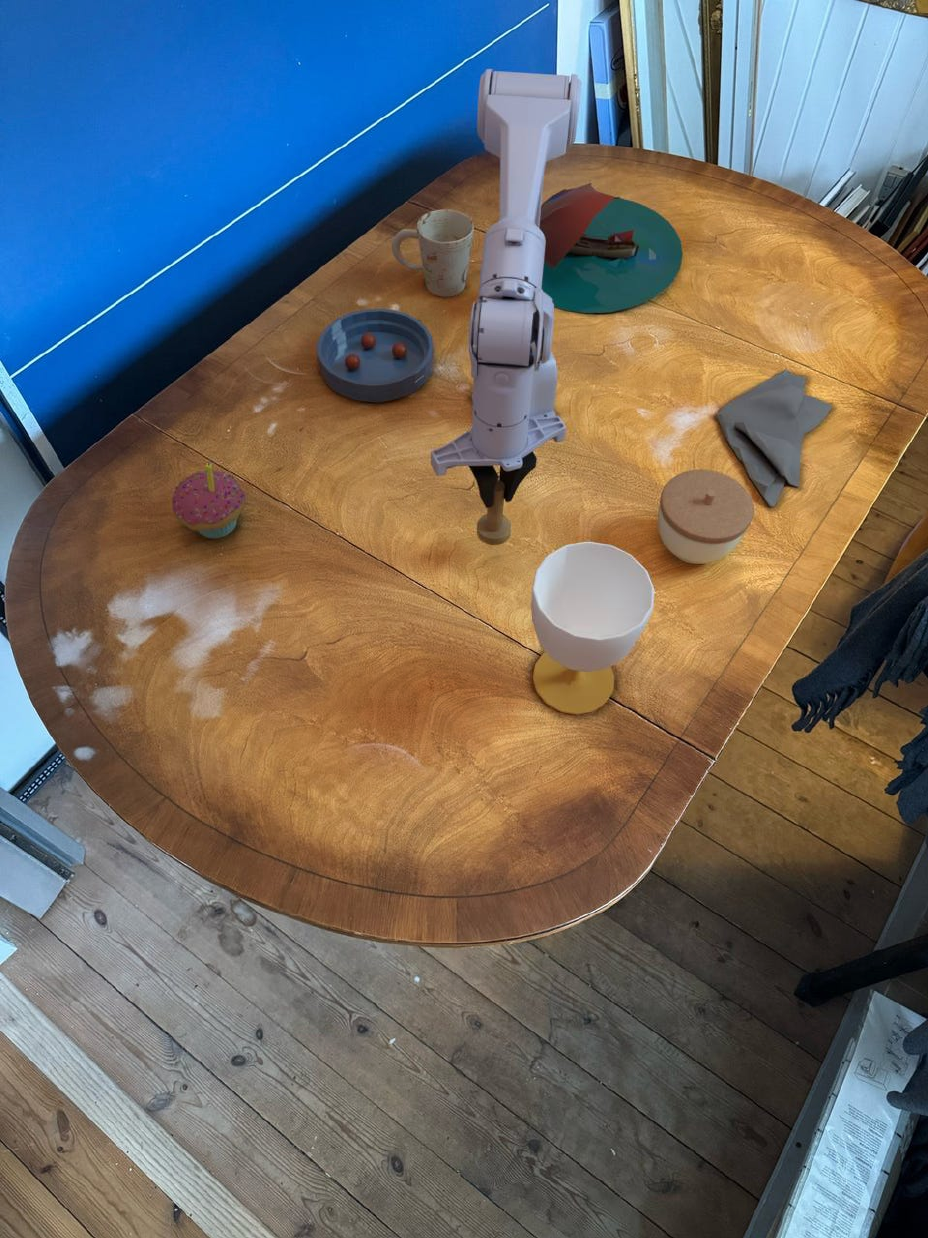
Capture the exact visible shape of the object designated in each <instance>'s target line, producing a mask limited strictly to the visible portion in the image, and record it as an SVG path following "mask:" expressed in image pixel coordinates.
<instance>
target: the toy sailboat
mask: <svg viewBox="0 0 928 1238" xmlns="http://www.w3.org/2000/svg"><path fill="white" fill-rule="evenodd" d="M539 229H540V230H541V231H542V232H543V234H544V236H545V240H546V245H545V255H544V266H543V277H542V288H541V289H542V290H543V292H544V293H546V294H547V295H549V296H550V297H551V298H552V303H553V304H554V308H557V309H560V310H563V311H568V312H576V313H584V314H598V313H599V314H602V313H603V314H604V313H605V314H606V313H614V312H617V311H622V310H627V309H630V308H633V307H636V306H639V305H641V304H643V303H645V302H647V301H649V300H652V299H654V298H655V297H657V296H658V295H660V294H661V293H663V292H664V291H665V290H667V288H669V287H670V285H671V284H673V282H674V280H675V278H676V277H677V275H678V273H679V272H680V270H681V266H682V260H683V247H682V239H681V238H680V237H679V235H678V233H677V231H676V229H675V227H673V225H672V224H671V223H670V222H669V221H668V220H667V219H666V218H665V217H664V216H663V215H662V214H660V213H659V212H657V211H656V210H654V209H652V208H650V207H648V206H646V205H643V204H641V203H640V202H639V203H638V202H636V201H632V200H628V199H625V198H621V197H620V196H613V195H611V194H607V193H604V192H601V191H597V190H596V189H595V188H594V187H593V186H592V183H591V182H589V183H586V184H582V185H580V186H578V187H577V186H576V187H575V188H569V189H566V188H564V189H562V190H560V191H558V192H556V193H555V194H553V195H551V196H550V197H549V198H548V199H546V200H545V201H544V202H542V203H541V214H540V225H539Z"/></svg>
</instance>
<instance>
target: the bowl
mask: <svg viewBox="0 0 928 1238" xmlns="http://www.w3.org/2000/svg"><path fill="white" fill-rule="evenodd" d="M366 333H370V334H373V335H374V336H375V338H376V345H375V346H374V348H372V349H366V348H364V347H363V346H362V344H361V338H362V336H363V335H364V334H366ZM396 343H403V344H405V345H406V347H407V354H406V356H405V357H404V358H401V359H398V358H396V357H395V356H394V355H393V354H392V347H393V346H394V344H396ZM434 346H435V345H434V339H433V336H432V334H431V332H430V330H429V329H428V327H427V326H426V325H425V324H424V323H422V322H421V320H419V319H418V318H415V317H413V316H412V315H410V314H408V313H405V312H402V311H398V310H394V309H387V308H367V309H360V310H357V311H353V312H349V313H347V314H344V315H342V316H340V317H338V318H337V319H335V320H334V321H332V322H331V323H329V324H328V325H327V326H326V327H325V329H323V331H322V332H321V334H320V335H319V337H318V341H317V343H316V355H317V362H318V368H319V372H320V374H321V378H323V381H324V382H325V384H326V385H328V386H329V388H330V389H331V390H333V391H334V392H336V393H338V394H339V395H342V396H344V397H346V398H349V399H352V400H356V401H360V402H368V403H369V402H370V403H380V402H389V401H393V400H397V399H401V398H405V397H406V396H408V395H411V394H412V393H414V392H416V391H417V390H418V389H420V388H421V387H422V386H423V385H424V384H426V382H427V381H428V379H429V378H430V377H431V375H432V373H433V369H434V365H435V347H434ZM350 354H355V355H357V356H358V357H359V359H360V366H359V368H358V369H356V370H349V369H348V368H347V367H346V365H345V358H346V357H347V356H348V355H350Z"/></svg>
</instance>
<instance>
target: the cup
mask: <svg viewBox="0 0 928 1238" xmlns="http://www.w3.org/2000/svg"><path fill="white" fill-rule="evenodd" d="M655 591H656V589H655V587H654V584H653V581H652V580H651V577H650V574H649V572H648V570H647V569H646V568H645V567H644V566H643V565H642V564H641V563H640V562H639V561H638V559H636V558H635V557H634V556H633V555H632V554H630V553H629V552H627V551H624V550H622V549H620V548H618V547H616V546H615V545H612V544H607V543H601V542H594V541H582V542H577V543H570V544H565V545H563V546H561V547H559V548H558V549H556V550H554V551H552V552H551V553H549V554H547V555H546V556H545V558H544V559H543V560H542V561H541V563H540V564H539V566H537V568H536V569H535V572H534V576H533V582H532V587H531V599H530V609H531V621H532V625H533V628H534V631H535V634H536V637H537V640H538V641H537V642H538V643H539V646H540V647H541V649H542V650H543V651H544V652H542V653H541V655H540V657H539V658H538V659H537V661H536V662H535V663H534V668H533V674H532V682H533V684H534V688H535V691H536V693H537V695H538V696H539V697H540V698H541V699H542V700H543V702H544V703H545V705H547V706H549V707H551V708H552V709H554V710H555V711H558V712H560V713H562V714H563V713H564V714H570V715H583V714H588V713H594V712H595V711H596V710H598V709H599V708H601V707H602V706H604V705H605V704H606V703H607V702H608V700H609V698H610V697H611V695H612V694H613V691H614V686H615V685H614V684H615V675H614V673H613V669H612V667H613V666H615V665H616V664H618V663H619V662H621V661H622V660H624V659H625V658H626V657H627V656H628V655H629V654H630V653H631V651H632V650H633V648H634V646H635V645H636V643H637V642H638V640H639V638H640V637H641V635H642V633H643V631H644V630H645V628H646V627H647V625H648V623H649V620H650V618H651V616H652V612H653V611H654V603H655Z"/></svg>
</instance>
